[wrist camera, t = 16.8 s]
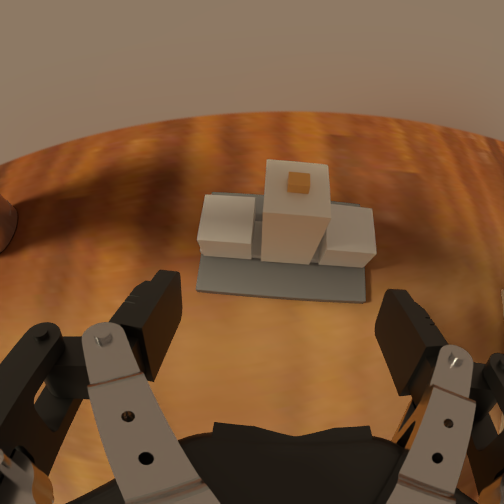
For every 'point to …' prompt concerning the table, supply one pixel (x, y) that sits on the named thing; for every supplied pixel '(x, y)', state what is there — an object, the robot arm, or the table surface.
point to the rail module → (294, 210)
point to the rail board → (274, 273)
